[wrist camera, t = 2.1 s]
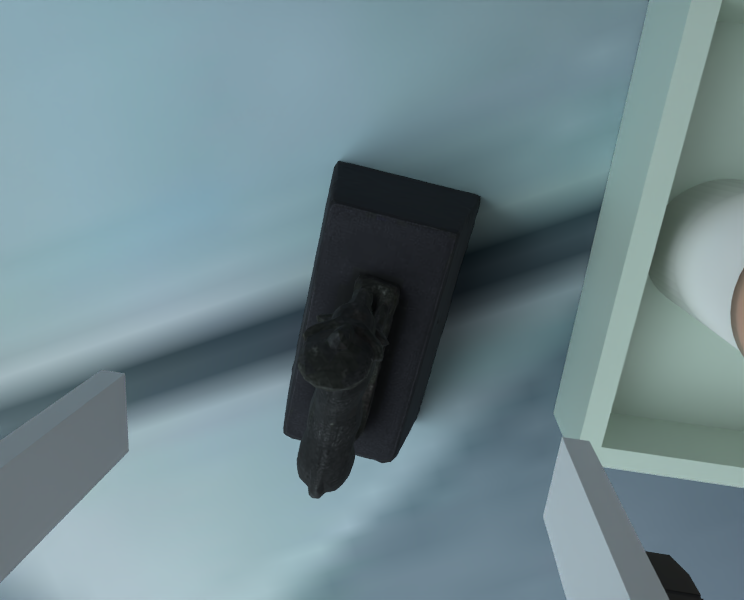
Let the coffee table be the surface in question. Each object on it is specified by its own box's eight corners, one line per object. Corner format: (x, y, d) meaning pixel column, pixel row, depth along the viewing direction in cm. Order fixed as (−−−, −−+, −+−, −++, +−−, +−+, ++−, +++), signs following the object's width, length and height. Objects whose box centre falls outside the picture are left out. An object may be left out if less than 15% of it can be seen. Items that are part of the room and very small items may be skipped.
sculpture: (493, 199, 26) (563, 284, 12) (413, 427, 30) (392, 694, 16) (337, 153, 26) (218, 181, 12) (280, 387, 30) (142, 614, 16)
